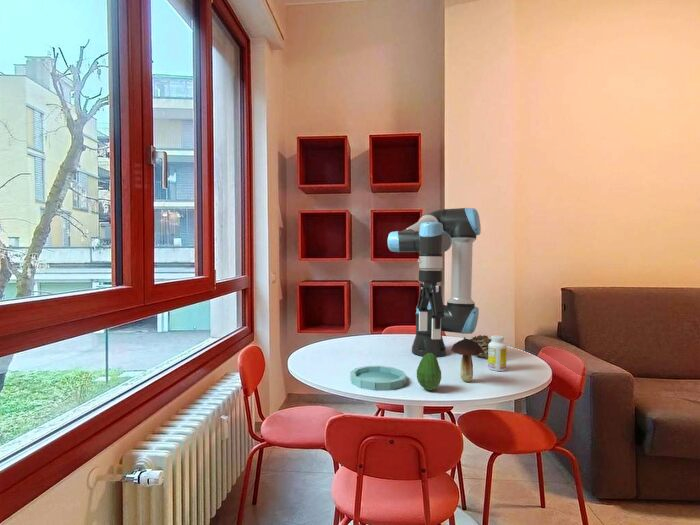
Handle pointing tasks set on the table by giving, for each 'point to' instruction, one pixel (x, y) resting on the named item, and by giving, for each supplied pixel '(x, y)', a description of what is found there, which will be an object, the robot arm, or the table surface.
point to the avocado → (429, 372)
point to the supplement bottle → (497, 354)
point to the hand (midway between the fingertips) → (429, 334)
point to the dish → (378, 377)
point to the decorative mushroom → (466, 356)
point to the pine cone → (482, 344)
